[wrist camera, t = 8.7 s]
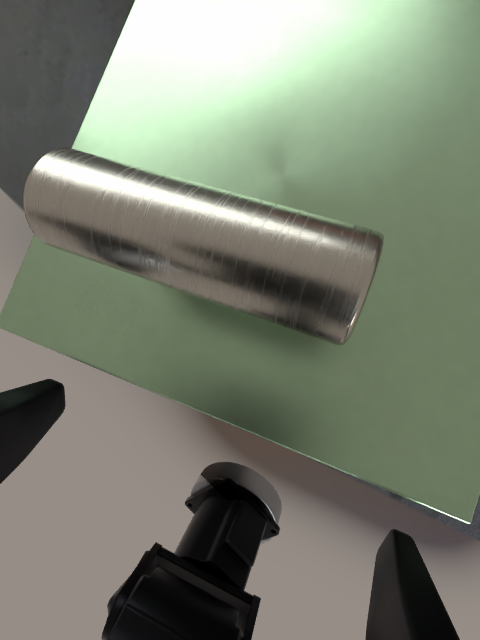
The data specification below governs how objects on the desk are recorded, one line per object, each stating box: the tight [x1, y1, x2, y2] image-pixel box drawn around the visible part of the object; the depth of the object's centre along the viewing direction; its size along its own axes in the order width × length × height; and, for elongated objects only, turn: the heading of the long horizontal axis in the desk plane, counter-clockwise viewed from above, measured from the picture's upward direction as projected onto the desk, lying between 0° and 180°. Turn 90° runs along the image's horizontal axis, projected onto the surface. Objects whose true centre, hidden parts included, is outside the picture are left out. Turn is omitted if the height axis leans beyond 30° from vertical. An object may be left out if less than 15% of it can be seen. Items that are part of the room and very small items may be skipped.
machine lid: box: [0, 0, 480, 524], centre depth 8 cm, size 12×12×5 cm
